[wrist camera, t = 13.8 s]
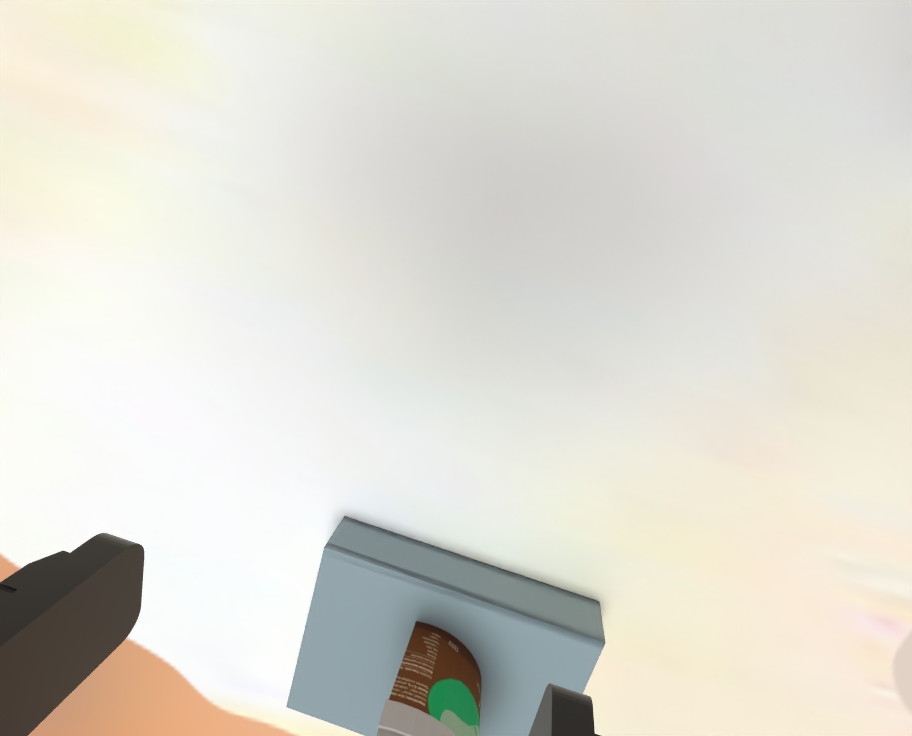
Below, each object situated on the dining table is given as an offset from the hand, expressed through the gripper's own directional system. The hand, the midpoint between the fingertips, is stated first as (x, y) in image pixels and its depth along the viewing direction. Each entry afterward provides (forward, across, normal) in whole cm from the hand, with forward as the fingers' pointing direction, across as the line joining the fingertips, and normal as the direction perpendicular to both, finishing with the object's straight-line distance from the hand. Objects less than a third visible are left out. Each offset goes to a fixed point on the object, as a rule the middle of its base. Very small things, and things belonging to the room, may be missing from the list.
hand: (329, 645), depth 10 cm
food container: (+24, -4, +24) cm, 34 cm away
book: (+28, -2, +25) cm, 37 cm away
